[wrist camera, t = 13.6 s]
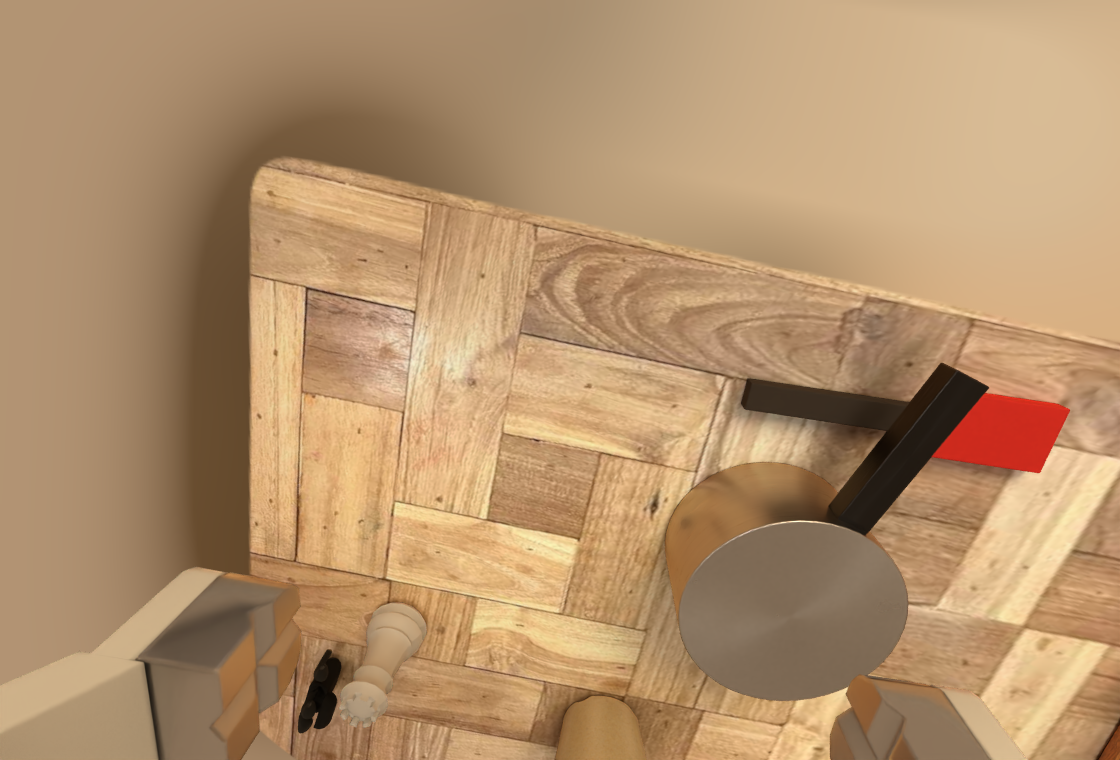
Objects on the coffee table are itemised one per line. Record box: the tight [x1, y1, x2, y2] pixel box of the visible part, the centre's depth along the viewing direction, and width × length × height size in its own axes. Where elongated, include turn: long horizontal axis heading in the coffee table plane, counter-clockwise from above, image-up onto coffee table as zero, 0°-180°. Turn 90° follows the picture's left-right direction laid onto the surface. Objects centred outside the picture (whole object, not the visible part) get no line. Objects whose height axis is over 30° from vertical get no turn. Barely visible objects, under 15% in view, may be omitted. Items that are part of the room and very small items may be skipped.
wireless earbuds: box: [298, 649, 341, 733], centre depth 42 cm, size 7×2×5 cm, turn 159°
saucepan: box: [665, 363, 989, 701], centre depth 33 cm, size 23×13×7 cm, turn 153°
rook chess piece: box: [339, 602, 427, 728], centre depth 39 cm, size 4×4×8 cm
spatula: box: [741, 378, 1070, 473], centre depth 34 cm, size 4×19×1 cm, turn 82°
